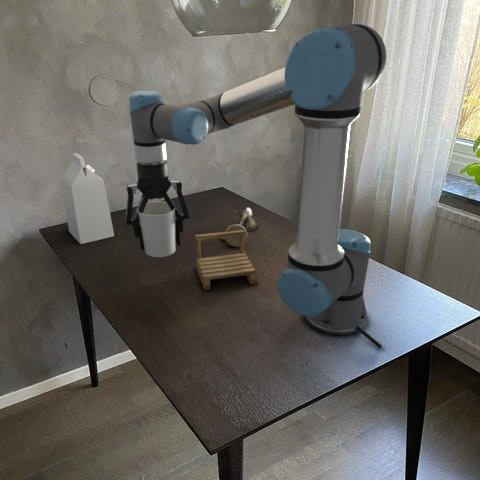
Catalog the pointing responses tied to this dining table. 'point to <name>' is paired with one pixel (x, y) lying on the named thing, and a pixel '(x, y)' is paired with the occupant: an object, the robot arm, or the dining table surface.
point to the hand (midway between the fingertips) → (160, 245)
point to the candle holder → (158, 229)
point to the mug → (236, 239)
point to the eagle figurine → (247, 219)
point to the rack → (223, 261)
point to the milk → (86, 203)
